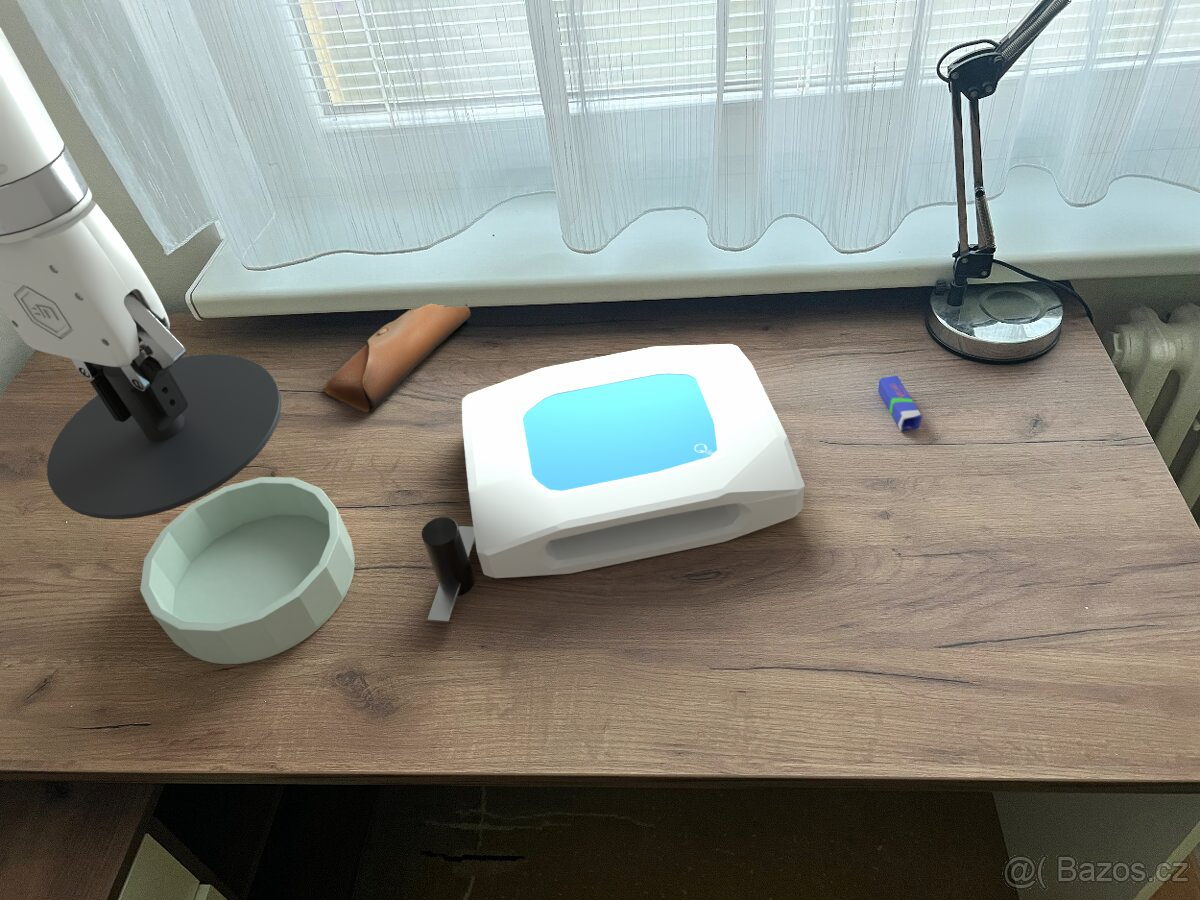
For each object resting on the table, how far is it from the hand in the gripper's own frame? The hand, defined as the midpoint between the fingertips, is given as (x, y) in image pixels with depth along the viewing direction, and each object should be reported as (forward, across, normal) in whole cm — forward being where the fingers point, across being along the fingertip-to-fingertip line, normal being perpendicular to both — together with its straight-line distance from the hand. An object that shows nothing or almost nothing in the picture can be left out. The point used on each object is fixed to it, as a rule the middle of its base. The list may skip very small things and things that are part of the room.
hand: (152, 412), depth 66 cm
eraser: (+19, +52, +36) cm, 66 cm away
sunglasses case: (+19, -2, +31) cm, 36 cm away
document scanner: (+19, +29, +21) cm, 40 cm away
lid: (+2, 0, 0) cm, 2 cm away
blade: (+19, +19, +4) cm, 28 cm away
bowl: (+19, +2, -1) cm, 19 cm away
